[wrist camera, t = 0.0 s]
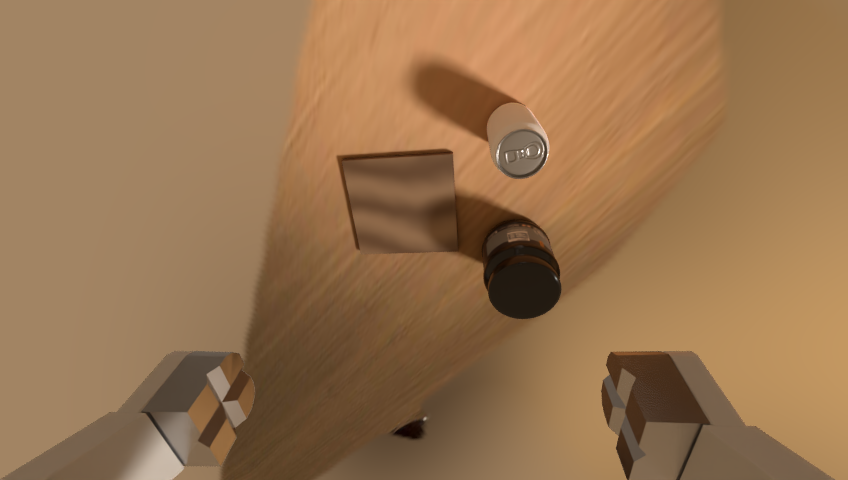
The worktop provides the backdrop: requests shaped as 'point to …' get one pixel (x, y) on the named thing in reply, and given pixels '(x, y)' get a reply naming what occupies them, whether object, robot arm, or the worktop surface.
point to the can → (517, 141)
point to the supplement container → (520, 270)
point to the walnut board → (403, 202)
